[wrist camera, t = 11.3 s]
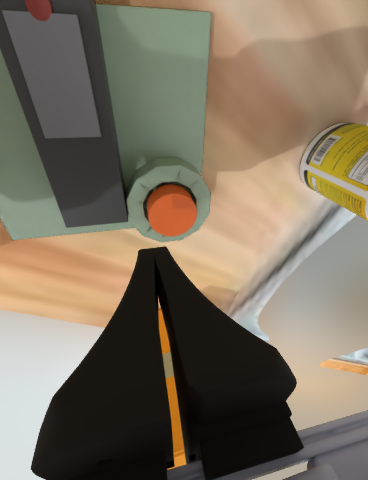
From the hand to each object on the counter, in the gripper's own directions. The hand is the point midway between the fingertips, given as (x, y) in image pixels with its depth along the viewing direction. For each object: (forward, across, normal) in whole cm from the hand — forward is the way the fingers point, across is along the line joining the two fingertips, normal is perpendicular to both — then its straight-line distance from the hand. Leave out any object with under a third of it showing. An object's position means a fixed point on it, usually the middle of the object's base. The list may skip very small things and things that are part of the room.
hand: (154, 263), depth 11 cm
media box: (+10, +3, -4) cm, 11 cm away
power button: (+7, -2, 0) cm, 7 cm away
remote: (+9, +4, -5) cm, 11 cm away
